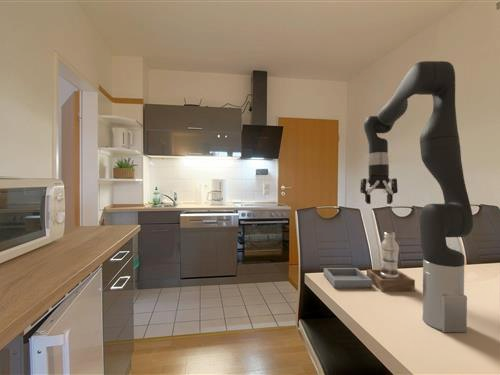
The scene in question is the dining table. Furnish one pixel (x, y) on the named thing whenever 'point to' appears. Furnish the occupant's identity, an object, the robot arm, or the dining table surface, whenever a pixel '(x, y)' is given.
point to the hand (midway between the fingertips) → (378, 203)
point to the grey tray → (347, 278)
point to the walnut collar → (391, 281)
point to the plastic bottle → (389, 257)
